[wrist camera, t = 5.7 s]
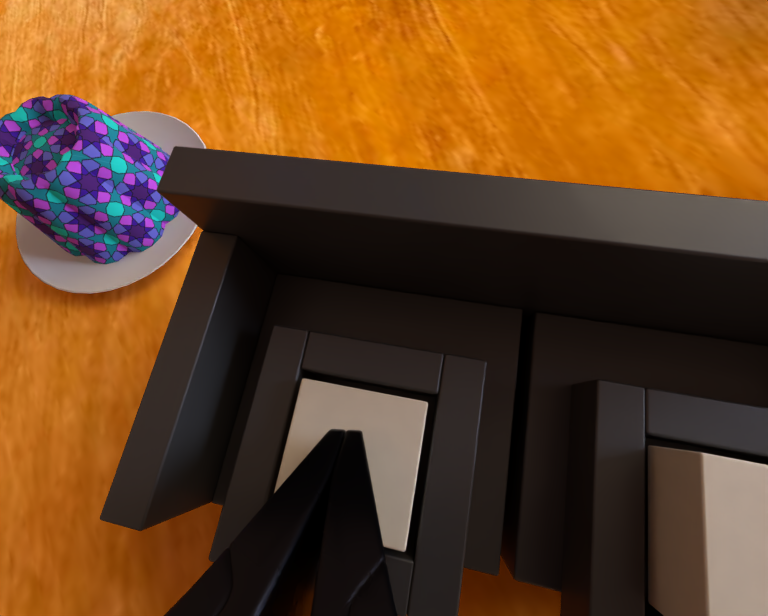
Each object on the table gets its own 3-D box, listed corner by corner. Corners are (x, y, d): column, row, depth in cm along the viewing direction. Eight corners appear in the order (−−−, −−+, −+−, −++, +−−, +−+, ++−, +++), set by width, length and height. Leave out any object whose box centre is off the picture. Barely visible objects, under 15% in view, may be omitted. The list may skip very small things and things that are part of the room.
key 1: (822, 647, 8) (942, 717, 6) (646, 602, 9) (708, 655, 7) (803, 474, 9) (903, 490, 7) (646, 444, 10) (700, 452, 8)
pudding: (-7, 223, 22) (-132, 167, 17) (137, 92, 24) (61, 7, 19) (106, 341, 19) (-7, 315, 14) (260, 180, 21) (209, 107, 16)
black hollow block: (765, 594, 13) (1624, 1046, 4) (248, 471, 16) (8, 549, 7) (746, 346, 16) (1241, 243, 6) (299, 280, 19) (173, 144, 9)
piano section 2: (472, 545, 15) (511, 648, 8) (268, 495, 16) (163, 549, 10) (495, 338, 17) (539, 291, 11) (314, 309, 18) (255, 251, 12)
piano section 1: (730, 609, 13) (1022, 794, 7) (482, 548, 15) (529, 654, 8) (717, 373, 16) (927, 344, 9) (504, 339, 17) (554, 293, 10)
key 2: (408, 528, 11) (405, 553, 9) (293, 500, 11) (267, 517, 9) (427, 403, 11) (428, 402, 10) (320, 383, 12) (301, 377, 10)
